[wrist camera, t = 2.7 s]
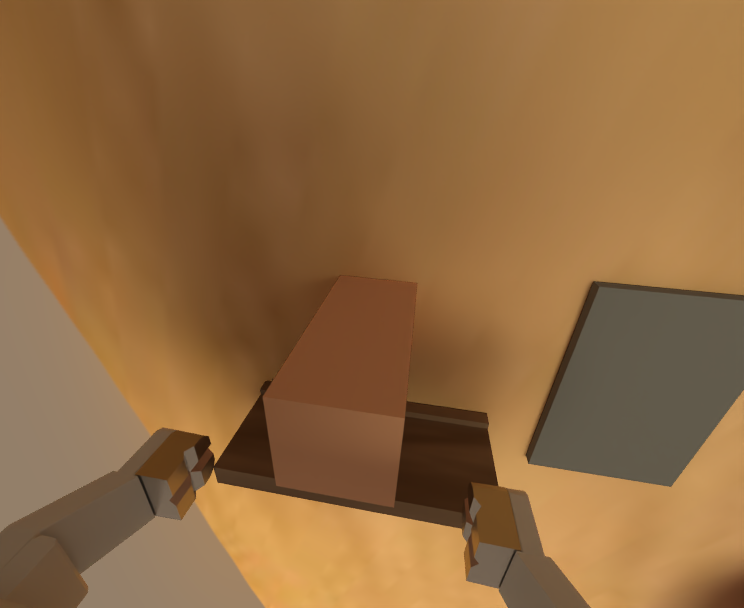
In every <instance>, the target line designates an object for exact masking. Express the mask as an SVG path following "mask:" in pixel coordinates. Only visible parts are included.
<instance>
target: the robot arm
mask: <svg viewBox="0 0 744 608" xmlns="http://www.w3.org/2000/svg"><path fill="white" fill-rule="evenodd" d="M210 444H211V442H210V439H209V436H204V435H199V434H194V433H189V432H184V431H179V430H174V429H168V428H161V429H159V430H157V431H156V432H155V433H154V434H153V435H152V436H151V437H150V438H149V439H148V440H147V442H145V443H144V445H143V446H142V447H141V448H140V449H139V450H138V451H137V452H136V453H135V454H134V455H133V456H132V457H131V458H130V459H129V460H128V461H127V462H126V463H125V464H124V465H123V466H122V468H121V469H120V470H119V471H118V472H116V471H112V472H110V473H108V474H106V475H104V476H103V477H101V478H99V479H97V480H95V481H93V482H91V483H89V484H87V485H86V486H83V487H81V488H79V489H77V490H76V491H74V492H72V493H70V494H68V495H66V496H64V497H62V498H60V499H58V500H56V501H54V502H53V503H51V504H49V505H47V506H45V507H43V508H41V509H39V510H37V511H35V512H33V513H31V514H29V515H27V516H25V517H23V518H22V519H20V520H18V521H16V522H14V523H12V524H10V525H9V526H7V527H6V528H5V529H4V530H3V531H2V532H1V533H0V608H77V606H78V605H79V604H80V602H81V601H82V600H83V598H84V597H85V596H86V594H87V593H88V586H87V584H86V583H85V581H84V580H83V578H82V577H81V575H80V574H81V573H82V572H84V571H85V570H86V569H88V568H89V567H90V566H92V565H93V564H94V563H95V562H97V561H98V560H99V559H101V558H102V557H103V556H105V555H106V554H107V553H109V552H110V551H111V550H113V549H114V548H115V547H116V546H118V545H119V544H120V543H122V542H123V541H124V540H126V539H127V538H128V537H130V536H131V535H132V534H134V533H135V532H136V531H138V530H139V529H140V528H142V527H143V526H144V525H146V524H147V523H148V522H149V521H151V520H152V519H153V518H154V517H155V516H160V517H165V518H171V519H177V520H182V518H183V517H184V515H185V514H186V512H187V511H188V509H189V508H190V506H191V505H192V503H193V502H194V500H195V499H196V490H198V489H199V488H201V487H202V486H204V485H205V484H206V482H207V481H208V479H209V477H210V476H211V473H212V470H213V468H214V461H215V458H214V454H213V453H212V452H211V451H210V450H209V449H208V447H209V446H210ZM467 493H468V498H466V499H464V503H463V508H462V535H463V537H464V538H465V540H466V541H467V544H466V547H465V551H464V560H465V571H466V581H469V582H473V583H477V584H482V585H486V586H490V587H494V588H498V589H499V592H500V594H501V596H502V598H503V599H504V601H505V603H506V605H507V607H508V608H590V606H589V605H588V604H587V603H586V601H585V600H584V599H583V597H582V596H581V595H580V594H579V592H578V591H577V590H576V589H575V587H574V586H573V585H572V584H571V582H570V581H569V580H568V579H567V577H566V576H565V575H564V574H563V572H562V571H561V570H560V569H559V567H558V566H557V565H556V564H555V562H554V561H553V560H552V559H551V558H550V557H546V556H545V555H544V552H543V548H542V545H541V541H540V538H539V534H538V530H537V527H536V523H535V520H534V516H533V512H532V509H531V505H530V502H529V498H528V495H527V494H526V492H525V491H521V490H514V489H508V488H505V487H499V486H493V485H487V484H481V483H474V482H470V483H469V485H468V488H467Z"/></svg>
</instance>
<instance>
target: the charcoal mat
mask: <svg viewBox="0 0 744 608" xmlns="http://www.w3.org/2000/svg"><path fill="white" fill-rule="evenodd" d="M743 390H744V296H742V295H731V294H721V293H710V292H700V291H689V290H679V289H668V288H658V287H647V286H637V285H626V284H616V283H605V282H595V281H594V282H593V285H592V287H591V290H590V292H589V295H588V297H587V300H586V303H585V305H584V308H583V310H582V313H581V315H580V318H579V321H578V323H577V326H576V328H575V331H574V333H573V336H572V339H571V341H570V344H569V346H568V349H567V351H566V354H565V356H564V359H563V362H562V364H561V367H560V369H559V372H558V374H557V377H556V380H555V382H554V385H553V387H552V390H551V392H550V395H549V398H548V400H547V403H546V405H545V408H544V410H543V413H542V416H541V418H540V421H539V423H538V426H537V428H536V431H535V434H534V436H533V439H532V441H531V444H530V446H529V449H528V452H527V454H526V457H527V460H528V464H534V465H540V466H546V467H552V468H558V469H565V470H571V471H577V472H583V473H589V474H595V475H602V476H608V477H614V478H620V479H626V480H632V481H639V482H645V483H651V484H657V485H663V486H669V487H671V486H672V485H673V483H674V482H675V481H676V479H677V478H678V477H679V475H680V474H681V473H682V471H683V470H684V469H685V467H686V466H687V465H688V463H689V462H690V461H691V459H692V458H693V457H694V455H695V454H696V453H697V451H698V450H699V449H700V447H701V446H702V445H703V443H704V442H705V441H706V439H707V438H708V437H709V435H710V434H711V433H712V431H713V430H714V429H715V427H716V426H717V425H718V423H719V422H720V421H721V419H722V418H723V417H724V415H725V414H726V413H727V411H728V410H729V409H730V407H731V406H732V405H733V403H734V402H735V401H736V399H737V398H738V397H739V395H740V394H741V393H742V391H743Z"/></svg>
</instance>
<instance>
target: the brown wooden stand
mask: <svg viewBox="0 0 744 608" xmlns="http://www.w3.org/2000/svg"><path fill="white" fill-rule="evenodd" d="M271 383H272V382H268V381H266V382H265V383H264V385H263V386H262V388H261V389H260V391H261V395H260V397H259V398H258V400H257V401H256V403H255V404H254V406H253V407H252V409H251V410H250V412H249V414H248V415H247V417H246V418H245V420H244V421H243V423H242V424H241V426H240V427H239V429H238V430H237V432H236V433H235V435H234V437H233V438H232V440H231V441H230V443H229V444H228V446H227V447H226V449H225V450H224V452H223V453H222V455H221V456H220V458H219V460H218V461H217V463H216V464H215V466H214V471H215V474H216V478H217V481H218V483H224V484H229V485H234V486H239V487H245V488H250V489H255V490H261V491H266V492H271V493H276V494H282V495H287V496H292V497H297V498H303V499H308V500H313V501H319V502H324V503H329V504H334V505H340V506H345V507H350V508H356V509H361V510H366V511H371V512H377V513H382V514H387V515H392V516H398V517H403V518H408V519H414V520H419V521H424V522H429V523H435V524H440V525H445V526H451V527H456V528H461V529H462V508H463V503H464V499H466V498H468V493H467V488H468V485H469V483H470V482H474V483H481V484H487V485H493V486H498V482H497V476H496V471H495V466H494V461H493V455H492V450H491V445H490V439H489V434H488V425H489V422H488V417H487V414H486V413H479V412H473V411H466V410H459V409H452V408H445V407H439V406H432V405H425V404H418V403H411V402H406V411H405V421H404V430H403V438H402V446H401V454H400V462H399V471H398V479H397V487H396V495H395V503H394V508H393V507H387V506H382V505H377V504H371V503H366V502H361V501H355V500H350V499H344V498H339V497H334V496H328V495H323V494H317V493H312V492H307V491H301V490H296V489H290V488H285V487H280V486H276V482H275V475H274V469H273V462H272V456H271V449H270V442H269V436H268V429H267V423H266V416H265V410H264V403H263V395H264V394H265V392H266V391H267V389H268V387H269V386H270V384H271Z"/></svg>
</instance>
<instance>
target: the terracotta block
mask: <svg viewBox="0 0 744 608" xmlns="http://www.w3.org/2000/svg"><path fill="white" fill-rule="evenodd" d="M416 293H417V283H412V282H402V281H392V280H382V279H373V278H363V277H353V276H343V275H340V276H339V278H338V280H337V281H336V283H335V284H334V286H333V287H332V289H331V291H330V292H329V294H328V295H327V297H326V298H325V300H324V301H323V303H322V305H321V306H320V308H319V309H318V311H317V312H316V314H315V316H314V317H313V319H312V320H311V322H310V323H309V325H308V326H307V328H306V330H305V331H304V333H303V334H302V336H301V337H300V339H299V341H298V342H297V344H296V345H295V347H294V348H293V350H292V352H291V353H290V355H289V356H288V358H287V359H286V361H285V362H284V364H283V366H282V367H281V369H280V370H279V372H278V373H277V375H276V377H275V378H274V380H273V381H272V383H271V384H270V386H269V387H268V389H267V391H266V392H265V394H264V395H263V403H264V410H265V416H266V423H267V429H268V436H269V442H270V449H271V456H272V462H273V469H274V475H275V482H276V486H280V487H285V488H290V489H296V490H301V491H307V492H312V493H317V494H323V495H328V496H334V497H339V498H344V499H350V500H355V501H361V502H366V503H371V504H377V505H382V506H387V507H393V508H394V503H395V495H396V487H397V479H398V471H399V462H400V454H401V446H402V438H403V430H404V421H405V411H406V401H407V390H408V379H409V368H410V357H411V347H412V336H413V325H414V314H415V303H416Z"/></svg>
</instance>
